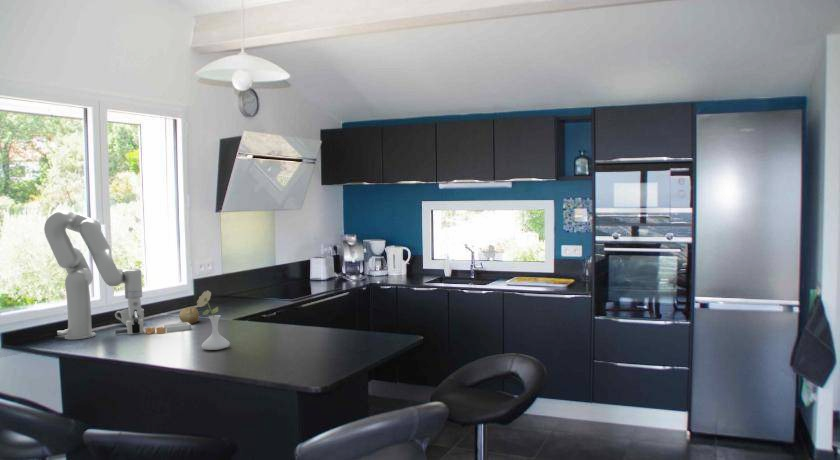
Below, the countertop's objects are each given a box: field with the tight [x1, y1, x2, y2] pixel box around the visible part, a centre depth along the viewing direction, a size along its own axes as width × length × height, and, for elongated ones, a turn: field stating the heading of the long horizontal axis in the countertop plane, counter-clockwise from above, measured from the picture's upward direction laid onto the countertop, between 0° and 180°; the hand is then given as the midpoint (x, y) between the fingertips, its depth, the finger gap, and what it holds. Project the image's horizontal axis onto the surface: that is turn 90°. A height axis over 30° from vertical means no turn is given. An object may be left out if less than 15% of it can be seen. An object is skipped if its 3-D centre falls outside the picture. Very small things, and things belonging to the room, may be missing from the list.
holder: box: [163, 322, 192, 333], centre depth 305 cm, size 11×8×2 cm
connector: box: [114, 319, 145, 335], centre depth 298 cm, size 12×4×6 cm, turn 120°
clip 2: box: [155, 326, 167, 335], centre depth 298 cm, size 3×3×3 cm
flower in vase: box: [196, 290, 230, 351], centre depth 260 cm, size 13×11×25 cm
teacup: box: [114, 307, 145, 327], centre depth 320 cm, size 14×11×8 cm
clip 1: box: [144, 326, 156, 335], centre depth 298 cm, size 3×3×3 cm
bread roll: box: [178, 306, 200, 325], centre depth 324 cm, size 10×15×8 cm, turn 26°
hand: (135, 331), depth 300 cm, fingers open, 6 cm apart
